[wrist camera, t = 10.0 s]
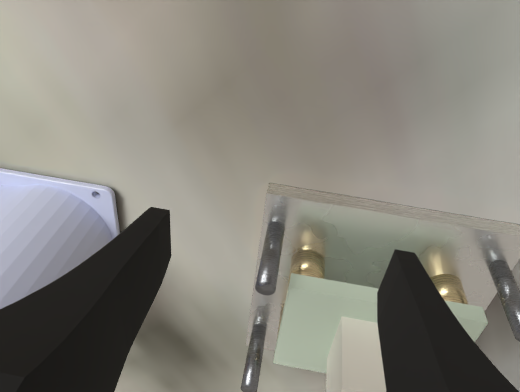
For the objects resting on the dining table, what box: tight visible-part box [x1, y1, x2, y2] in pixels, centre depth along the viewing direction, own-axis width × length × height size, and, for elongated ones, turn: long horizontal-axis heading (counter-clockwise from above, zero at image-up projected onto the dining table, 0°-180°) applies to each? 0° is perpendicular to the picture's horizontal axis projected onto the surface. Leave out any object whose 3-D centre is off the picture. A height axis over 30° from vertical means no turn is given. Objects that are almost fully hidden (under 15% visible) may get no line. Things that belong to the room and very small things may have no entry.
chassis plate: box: [241, 183, 520, 392], centre depth 25 cm, size 14×14×6 cm
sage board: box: [273, 273, 488, 392], centre depth 22 cm, size 10×7×5 cm
